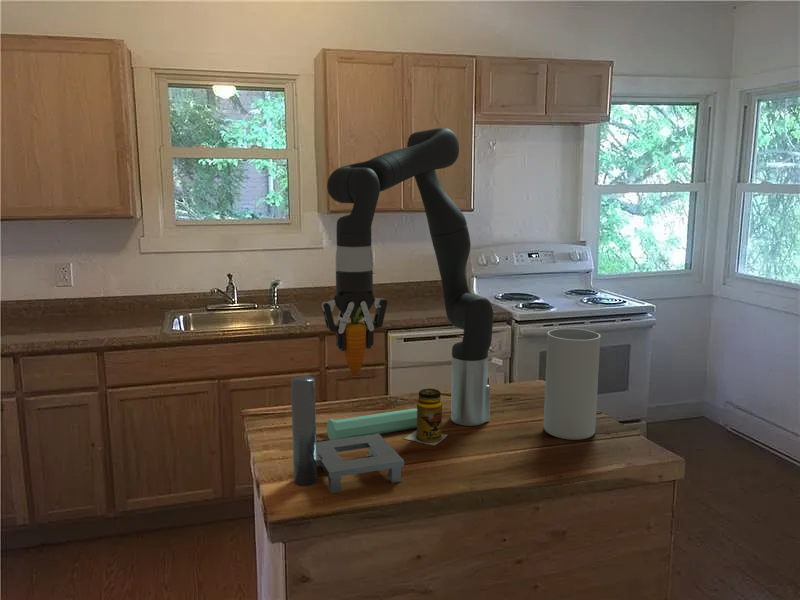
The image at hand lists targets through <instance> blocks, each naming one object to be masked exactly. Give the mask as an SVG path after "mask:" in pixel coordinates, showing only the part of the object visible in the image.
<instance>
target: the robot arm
mask: <svg viewBox="0 0 800 600" xmlns="http://www.w3.org/2000/svg"><path fill="white" fill-rule="evenodd" d="M459 154H460V143H459V139H458V137H457V136H456V134H455V133H454V131H452V130H451V129H449V128H446V127H438V128H432V129H428V130H427V129H426V130H421V131H420V130H419V131H416V132H413V133H411V134H410V135H409V137H408V140H407V143H406V147H404V148H399V149H395V150H392V151H388V152H385V153H382V154H380V155H378V156H375V157H373V158H370V159H369V160H366V161H361V162H357V163H351V164H348V165H343V166H340V167H337V168H336V169H335V170H333V172H332V173H331V174H330V175H329V177H328V179H327V182H326V183H327V184H326V188H327V193H328V195H329V197H331V198H332V200H334V201H335V202H337V203H341V204H353V205H352V210H351V212H350V213H349V214H347V215H343V216H340V217H339V218H337V221H336V249H335V250H336V251H335V296H334V297H333V299H332V300H328V301H321V303H320V306H321V311H322V314H323V318H324V322H325V326H326V328H327V329H328V330H329V331H330V332H334V333H335V345H336V347H337V349H338V350H339V351H340V352H345V333H344V330H345V327H346V324H347V323H349V320H350V318H353V319H354V317H355V315H356V311H357V309H358V307H361V309H362V310H361V312H360V314H359V316H358V318H359V317H360V316H363V318H362V319H361V320H362V323H363V324H365V325H366V348H365V349H367V350H369V349H371V348H372V347H373V346H374V337H375V336H374V335H375V334H374V331H375V330H377V329H378V328H382V327H383V324H384V319H385V316H386V311H387V308H388V307H387V306H388V300H387V299H385V298H383V297H379V298H378V297H375V295H374V293H373V292H374V291H373V290H374V286H373V285H374V283H373V282H374V281H373V280H374V276H373V275H374V274H373V273H374V257H373V251H372V250H373V249H372V225H373V221H374V216H375V212H376V209H377V204H378V200H379V197H380V192H384V191H386V190H388V189H391V188H392V187H394V186H396V185H399V184H400V183H403V182H405V181H407V180H408V179H411V178H414V179H415V183H416V186H417V188H418V191H419V194H420V198H421V202H422V205H423V207H424V212H425V216H426V220H427V224H428V230H429V234H430V238H431V242H432V246H433V251H434V253H435V257H436V261H437V266H438V270H439V275H440V279H441V286H442V287H441V288H442V292H443V293H442V294H443V301H444V307H445V315H446V317H447V320H448V321H449V323H450V324H451V325H452V326H454V327H455V328H458V329H461V330H463V336H462V340H461V341H460V342H455V343H454V344H453V345H452V346H451V388H450V389H451V393H450V394H451V396H450V397H451V399H450V420H451V422H453V423H454V424H457V425H460V426H469V427H470V426H471V427H473V426H481V425H482V424H484V423H487V422H490V413H491V412H490V409H491V408H490V407H491V386H490V385H489V384H488V364H489V363H488V362H489V361H488V360H489V358H488V357H489V351H490V348H491V345H492V339H493V338H492V337H493V326H494V309H493V306H492V305H493V304H492V303H491V301H490V300H489V299H488V298H486V297H484V296H480V295H477V294H476V295H475V294H472V293H470V289H469V286H468V282H467V277H466V267H467V263H468V260H469V255H470V251H471V245H472V244H471V237H470V232H469V227H468V223H467V220H466V217H465V215H464V213H463V212H462V211H461V209H460V208H459V207H458V206H457V204H456V203H455V202H454V201H453V200H452V199H451V198H450V196H449V195H448V194H447V193H446V191H445V190H444V189H443V187H442V185H441V183H440V180H439V178H438V175H437V171H436V170H441V169H446V168H449V167H451V166H452V165H454V164H455V163H456V161H457V160H458V158H459ZM373 304H374V307H375V308H376V309H375V313H374V318H373V320H372V316H371V313H370V310H371V308H372V306H373ZM335 306H336V307H337V309H338V310H339V314H338V316H337V322H336V324H335V321H334V317H333V313H332V312H333V311H334V308H335Z"/></svg>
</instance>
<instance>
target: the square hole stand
mask: <svg viewBox="0 0 800 600" xmlns="http://www.w3.org/2000/svg"><path fill="white" fill-rule="evenodd" d="M290 390H291V392H290V393H291V394H290V395H291V396H290V397H291V421H292V422H291V423H292V458H293V460H292V462H293V483H294V484H295V485H297V486H298V487H299V486H300V487H308V486H312V485H314V484H316V483H317V481H318V468H322V469H323V471H324V473H325V474H326V476H327V477H328V478H327V480H328V481H327V482H328V491H329V492H330V494H332V495H333V494H336V493H341V491H342V487H341V486H342V485H341V482H342V481H341V479H342V478H341V477H343V476H344V477H346V476H353V475H357V474H363V473H369V472H375V471H382V470H388V480H389V482H390V483H391V484H395V483H401V482H402V467H405V460H404V459H403V458H402V457H401V456H400V454H398V452H397V451H396V450H395V449H394V448H393V447H392V446H391V445H390V444H389V443H388V442H387V440H386V439H385V438H384V437H383V436H382V434H371V435H364V436H357V437H350V438H343V439H336V440H329V439H328V440H324V441H323V440H322V441H317V422H316V419H317V417H316V415H317V414H316V413H317V411H316V378H315V377H313V376H310V375H298V376H294V377H292V378H291V380H290ZM362 449H367V450H368V452H369V453H368V456H369V457H362V458H355V459H349V460H343V458H342V457H341V456H340V454H339V453H341V452H347V451H353V450H354V451H355V450H362Z"/></svg>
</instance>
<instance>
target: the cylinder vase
mask: <svg viewBox="0 0 800 600" xmlns="http://www.w3.org/2000/svg"><path fill="white" fill-rule="evenodd" d="M600 352H601V334H600V333H598V332H595V331H592V330H587V329H581V328H556V329H551V330H548V331H547V339H546V362H545V364H546V365H545V385H544V386H545V387H544V388H545V389H544V411H543V430H544V431H545V432H546V433H547V434H549V435H551V436H553V437H555V438H558V439H563V440H569V441H570V440H571V441H572V440H573V441H579V440H587V439H589V438H591V437H593V436H594V435H595V432H596V423H597V422H596V420H597V419H596V418H597V403H598V401H597V400H598V390H599V389H598V387H599V386H598V385H599V370H600V369H599V368H600V367H599V366H600V354H601V353H600Z"/></svg>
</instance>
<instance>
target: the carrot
mask: <svg viewBox="0 0 800 600" xmlns="http://www.w3.org/2000/svg"><path fill="white" fill-rule="evenodd" d="M361 310H362V309H361V307H358V309H357V311H356V315H355V317H353V318H349V320H350V322H348V323H347V324H346V327H345V330H344V333H345V351H344V354H345V360H346V363H347V366H348V369H349V371H350V372H351V374H352V375H353V376H354V377H357V376H358V375H359V373H360V371H361V368H362V365H363V363H364V358H365V354H366V349H367V348H366V325H365V324H364V322H360V321H361V320H362V318H363V316H360V317H358V316H359V314H360V312H361Z"/></svg>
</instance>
